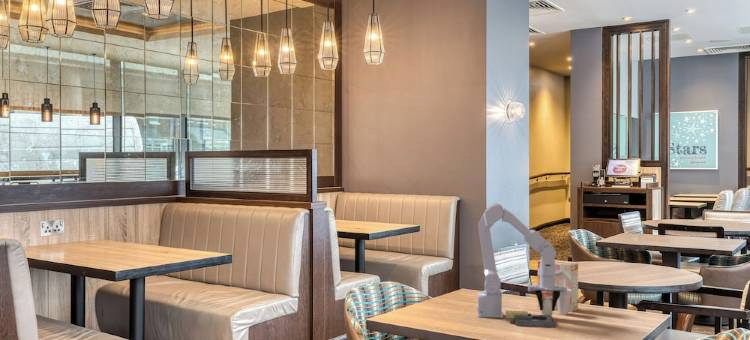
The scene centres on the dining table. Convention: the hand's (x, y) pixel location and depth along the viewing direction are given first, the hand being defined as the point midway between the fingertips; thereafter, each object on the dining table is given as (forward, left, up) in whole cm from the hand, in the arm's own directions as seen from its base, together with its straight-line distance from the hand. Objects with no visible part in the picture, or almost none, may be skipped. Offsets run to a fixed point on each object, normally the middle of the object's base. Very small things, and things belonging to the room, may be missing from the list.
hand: (547, 310), depth 252 cm
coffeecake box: (+6, +18, -3) cm, 19 cm away
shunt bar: (-12, -9, -1) cm, 15 cm away
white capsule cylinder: (0, 0, -2) cm, 2 cm away
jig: (-6, -9, -3) cm, 11 cm away
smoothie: (+7, +8, -3) cm, 11 cm away
